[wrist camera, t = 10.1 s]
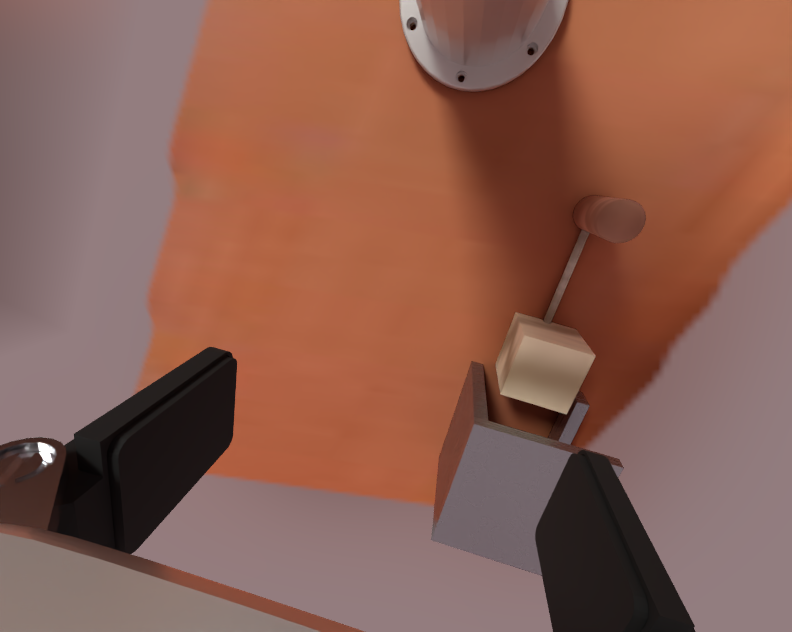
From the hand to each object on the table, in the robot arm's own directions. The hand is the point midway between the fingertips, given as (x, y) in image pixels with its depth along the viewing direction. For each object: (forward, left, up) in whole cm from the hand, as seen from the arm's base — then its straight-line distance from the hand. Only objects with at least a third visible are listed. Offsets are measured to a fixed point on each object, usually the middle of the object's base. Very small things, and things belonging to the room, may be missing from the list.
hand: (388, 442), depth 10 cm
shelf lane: (+16, +12, -28) cm, 35 cm away
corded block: (+1, +11, -28) cm, 30 cm away
